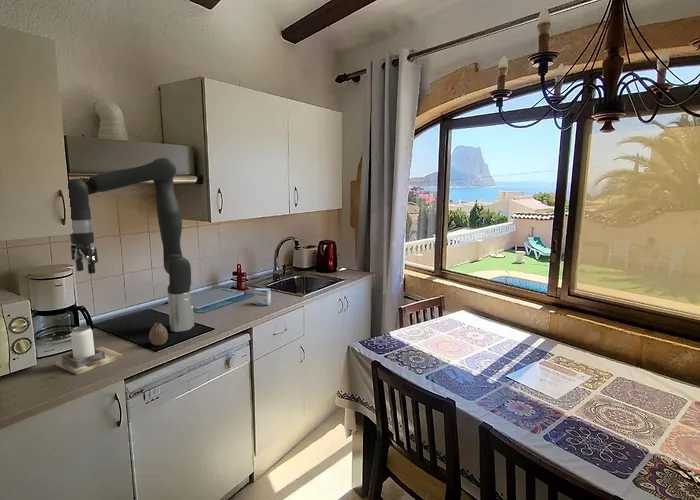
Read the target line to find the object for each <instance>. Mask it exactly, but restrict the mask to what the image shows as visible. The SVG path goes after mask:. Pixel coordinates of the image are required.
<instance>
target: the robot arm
mask: <svg viewBox="0 0 700 500" xmlns="http://www.w3.org/2000/svg"><path fill="white" fill-rule="evenodd" d="M176 174H177V166H176V164H175V163H174V161H172V160H171V159H169V158H166V157H160V158H159V157H158V158H155V159H154V160H153V161H151V162H149V163H146V164H142V165H140V166H136V167H130V168H122V169H117V170H110V171H106V172H102V173H97V174H94V175H91V176H89V177H90V178H89V181H88V182H84V181H82V180H80V179H78V178H72V179H70V180H68V181H67V182H68V189H69V198H70V207H71V219H72V229H73V233H72V234H70V233H69V235H70V244H71V245H70V253H71V260H73V261H74V263H75V266H76V267H75V268H76V271H77V272H82V271H84V262H83V260H84V261H86V263H87V272H88V274H90V275H92V274H95V273H96V266H95V265H96V264H97V263H98V262H99V260H98V259H99V258H98V251H97V250H98V249H97V247H96V246H92V245H91V244H93V243H95V234H94V226H93V222H92V221H93V220H92V213H91V208H90V207H91V206H90V204H89V202H90V200H89V197H90V196H89V195H93V194H97V193H105V192H110V191H114V190H118V189H121V188H125V187H129V186H134V185H136V184H141V183H146V182H153V185H154V189H155V198H156V199H155V200H156V214H157V220H158V226H159V232H160V233H159V234H160V238H161V243H162V249H163V252H162V253H163V254H162V255H163V269H164V271H165V272H166V274H168V277H169V278H168V279H169V281H168V282H169V285H168V286H167V301H168V314H169V328H170V329H169V330H170V331H171V332H175V333H177V332H178V333H180V332H185V331H189V330H191V329H193V327H195V318H194V306H193V305H192V297H191V285H192V267H191V263H190V260H189V259H187V258H186V257H184V256H183V253H182V248H181V236H182V231H183V220H182V212H181V209H180V205H179V202H178V198H177V196H176V193H175V189H174V188H175V187H174V186H175V185H174V177H175V176H176ZM86 183H88V184H86Z"/></svg>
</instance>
